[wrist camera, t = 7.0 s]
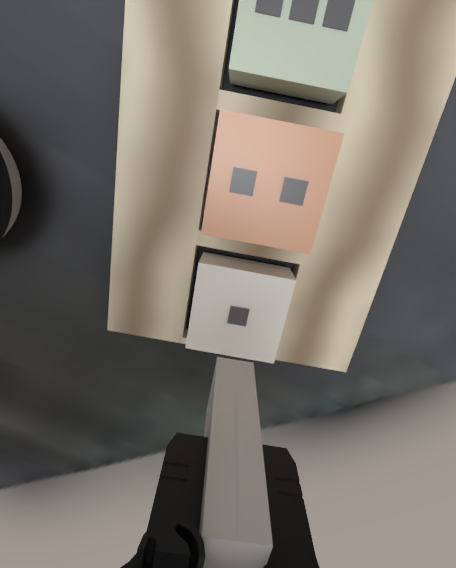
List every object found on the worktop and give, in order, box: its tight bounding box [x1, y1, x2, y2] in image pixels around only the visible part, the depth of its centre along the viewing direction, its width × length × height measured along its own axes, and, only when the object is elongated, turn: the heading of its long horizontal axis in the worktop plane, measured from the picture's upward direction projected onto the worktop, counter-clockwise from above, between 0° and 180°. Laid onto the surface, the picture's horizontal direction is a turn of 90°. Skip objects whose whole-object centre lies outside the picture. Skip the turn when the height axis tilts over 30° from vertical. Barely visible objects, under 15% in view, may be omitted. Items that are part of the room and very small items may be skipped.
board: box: [107, 0, 456, 372], centre depth 20 cm, size 18×24×2 cm
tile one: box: [185, 252, 296, 364], centre depth 21 cm, size 6×6×3 cm
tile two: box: [201, 109, 344, 254], centre depth 17 cm, size 6×6×3 cm
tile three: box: [229, 0, 373, 104], centre depth 15 cm, size 6×6×3 cm
